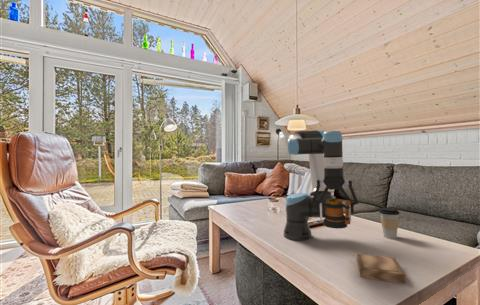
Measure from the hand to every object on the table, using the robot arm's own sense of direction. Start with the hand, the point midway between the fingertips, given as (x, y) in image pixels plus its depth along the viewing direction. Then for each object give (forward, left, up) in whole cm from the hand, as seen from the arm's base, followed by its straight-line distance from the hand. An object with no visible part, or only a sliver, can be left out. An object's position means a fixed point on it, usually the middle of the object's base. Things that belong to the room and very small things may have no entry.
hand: (335, 219), depth 98 cm
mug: (+1, 0, -3) cm, 3 cm away
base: (+15, -3, -18) cm, 23 cm away
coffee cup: (+27, +40, -18) cm, 51 cm away
